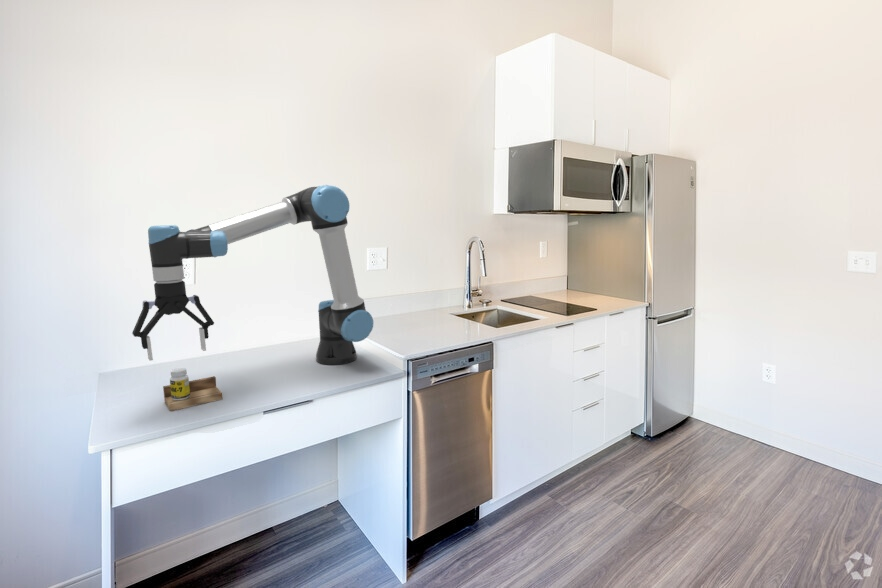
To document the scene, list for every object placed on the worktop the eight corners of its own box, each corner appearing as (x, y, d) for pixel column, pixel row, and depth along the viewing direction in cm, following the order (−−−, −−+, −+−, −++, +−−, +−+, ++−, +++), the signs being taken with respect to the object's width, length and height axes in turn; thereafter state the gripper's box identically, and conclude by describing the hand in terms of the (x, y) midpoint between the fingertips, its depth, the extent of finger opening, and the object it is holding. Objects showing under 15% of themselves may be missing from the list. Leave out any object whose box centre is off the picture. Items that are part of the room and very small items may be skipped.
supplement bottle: (168, 400, 136) (165, 372, 135) (177, 394, 140) (175, 367, 139) (184, 400, 136) (181, 372, 134) (193, 394, 140) (191, 367, 139)
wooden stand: (215, 391, 148) (214, 376, 148) (222, 399, 142) (221, 383, 142) (164, 402, 140) (163, 386, 139) (169, 411, 134) (168, 394, 133)
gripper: (213, 275, 143) (220, 343, 147) (114, 284, 127) (124, 360, 131) (220, 278, 137) (227, 348, 141) (117, 287, 122) (128, 367, 125)
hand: (177, 354), depth 136 cm, fingers open, 13 cm apart
